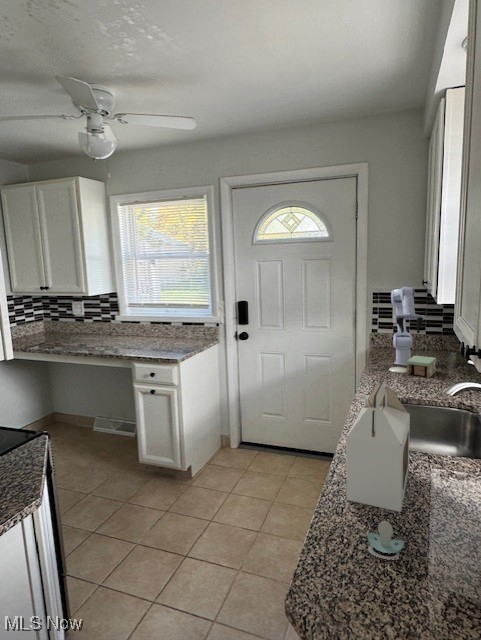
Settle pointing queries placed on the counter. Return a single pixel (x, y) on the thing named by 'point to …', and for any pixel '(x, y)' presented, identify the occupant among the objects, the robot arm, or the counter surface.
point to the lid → (421, 360)
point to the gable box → (379, 451)
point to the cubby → (430, 369)
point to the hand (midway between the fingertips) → (410, 332)
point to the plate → (398, 370)
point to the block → (420, 370)
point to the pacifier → (384, 541)
